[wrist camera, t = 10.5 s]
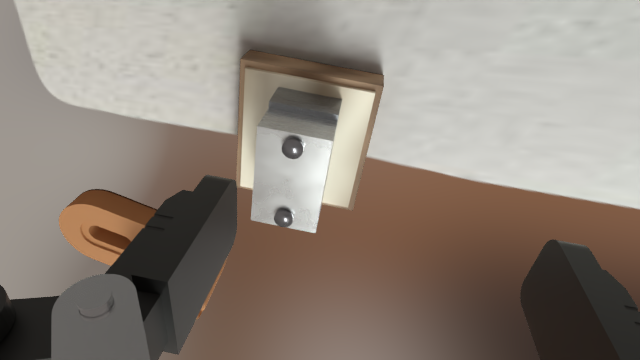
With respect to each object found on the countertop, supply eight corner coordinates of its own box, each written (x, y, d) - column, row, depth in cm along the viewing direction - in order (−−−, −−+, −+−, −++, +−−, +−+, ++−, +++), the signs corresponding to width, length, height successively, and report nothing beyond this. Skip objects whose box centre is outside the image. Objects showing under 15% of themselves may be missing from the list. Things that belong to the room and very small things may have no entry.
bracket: (234, 240, 44) (212, 287, 38) (217, 284, 49) (194, 332, 43) (77, 177, 42) (29, 217, 36) (74, 230, 47) (31, 273, 41)
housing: (342, 99, 30) (333, 137, 25) (324, 193, 35) (313, 241, 30) (278, 86, 30) (256, 121, 25) (269, 182, 35) (249, 228, 30)
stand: (383, 75, 32) (383, 88, 29) (354, 194, 38) (352, 212, 36) (250, 49, 32) (238, 60, 29) (244, 172, 39) (234, 189, 36)
